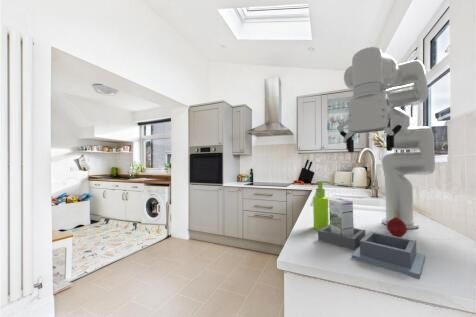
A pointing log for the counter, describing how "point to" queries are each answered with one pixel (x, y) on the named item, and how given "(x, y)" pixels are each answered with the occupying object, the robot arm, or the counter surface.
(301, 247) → the counter surface
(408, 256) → the frame
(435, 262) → the counter surface
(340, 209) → the syrup box
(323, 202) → the soap dispenser
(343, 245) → the grey square tray
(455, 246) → the counter surface
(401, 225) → the onion
